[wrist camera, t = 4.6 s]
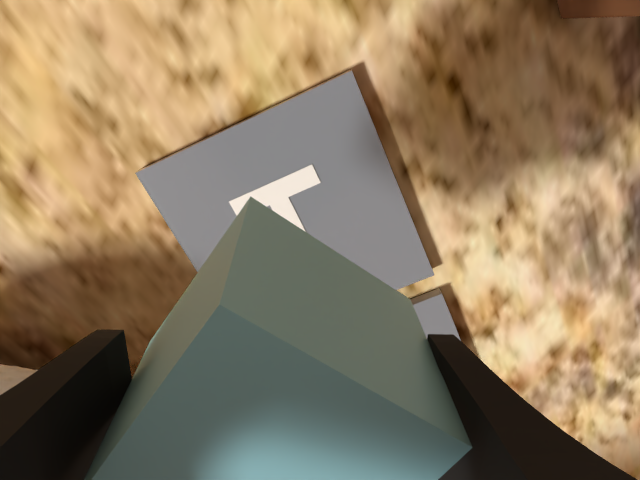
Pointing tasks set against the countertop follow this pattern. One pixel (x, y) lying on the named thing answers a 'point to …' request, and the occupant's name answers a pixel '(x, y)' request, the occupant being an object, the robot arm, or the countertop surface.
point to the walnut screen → (598, 8)
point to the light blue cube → (284, 373)
